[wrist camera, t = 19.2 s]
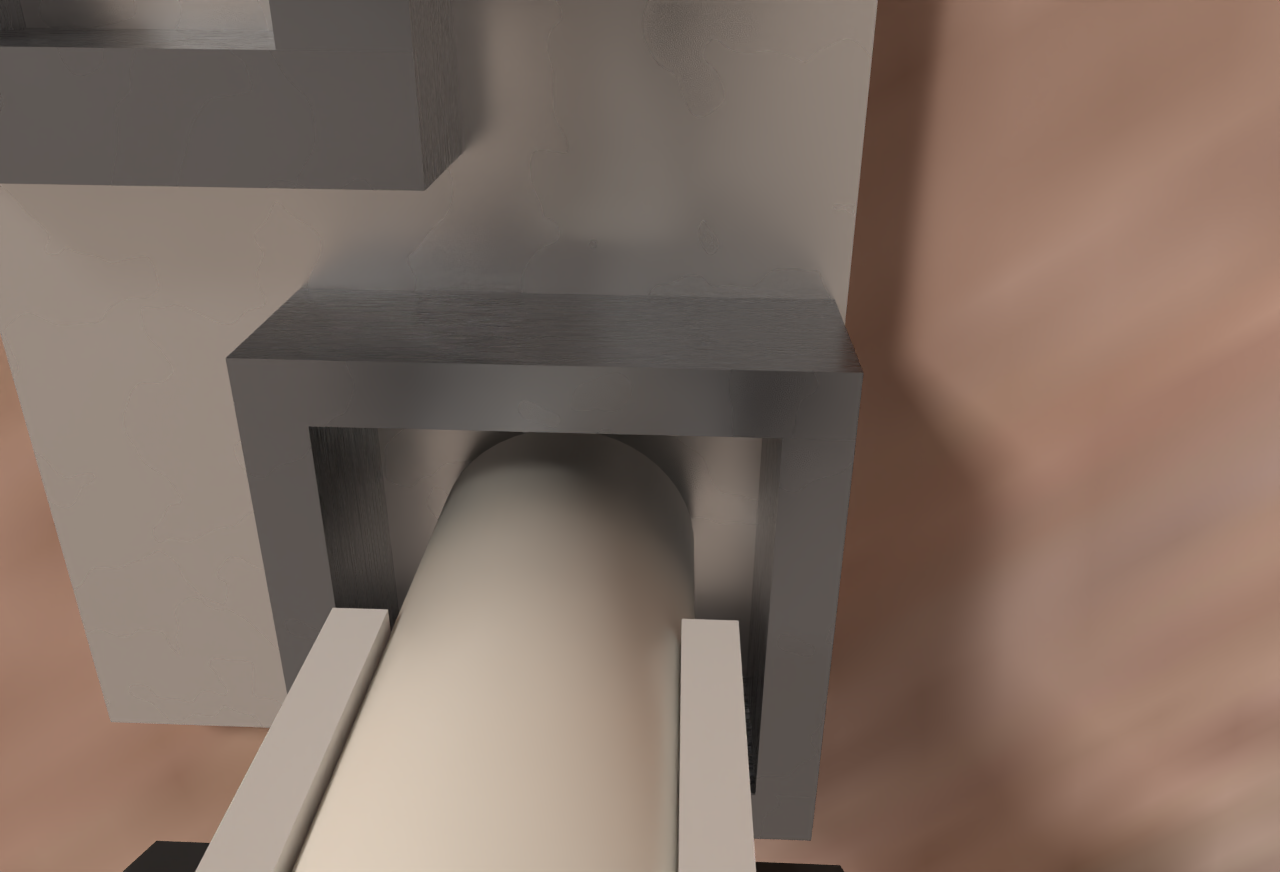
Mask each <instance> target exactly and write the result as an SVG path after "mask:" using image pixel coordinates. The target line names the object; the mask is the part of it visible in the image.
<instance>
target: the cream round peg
mask: <svg viewBox="0 0 1280 872" xmlns="http://www.w3.org/2000/svg"><path fill="white" fill-rule="evenodd" d="M682 619H695V586H694V533H693V527H692V522H691V517H690V515H689V512H688V509H687V506H686V504H685V502H684V500H683V498H682V496H681V494H680V492H679V490H678V489H677V488H676V486H675V485H674V483H673V482H672V481H671V479H670V478H669V477H668V476H667V475H666V474H665V473H664V472H663V471H662V469H661V468H660V467H659V466H658V465H656V464H655V463H654V462H653V461H651V460H650V459H649V458H648V457H647V456H645V455H644V454H642V453H640V452H639V451H637V450H636V449H634V448H632V447H631V446H629V445H627V444H624V443H622V442H620V441H618V440H616V439H613V438H610V437H607V436H604V435H601V434H589V433H550V432H528V433H525V434H521V435H518V436H514V437H512V438H509V439H507V440H505V441H502V442H500V443H498V444H496V445H495V446H493V447H491V448H490V449H488V450H486V451H485V452H483V453H482V454H481V455H480V456H478V457H477V458H476V459H475V460H473V461H472V462H471V463H470V464H469V465H468V466H467V468H466V469H465V470H464V471H463V472H462V473H461V475H460V476H459V477H458V479H457V480H456V482H455V483H454V485H453V487H452V489H451V491H450V493H449V495H448V497H447V500H446V502H445V504H444V507H443V509H442V512H441V514H440V516H439V519H438V521H437V524H436V526H435V528H434V531H433V533H432V535H431V538H430V540H429V543H428V545H427V547H426V550H425V552H424V555H423V557H422V559H421V562H420V564H419V567H418V569H417V571H416V574H415V576H414V579H413V581H412V583H411V586H410V588H409V590H408V593H407V595H406V598H405V600H404V602H403V605H402V607H401V610H400V612H399V614H398V617H397V619H396V622H395V624H394V626H393V629H392V631H391V635H390V637H389V640H388V642H387V644H386V647H385V649H384V652H383V654H382V656H381V659H380V661H379V664H378V666H377V668H376V671H375V673H374V676H373V678H372V680H371V683H370V685H369V688H368V690H367V692H366V695H365V697H364V700H363V702H362V704H361V707H360V709H359V712H358V714H357V716H356V719H355V721H354V723H353V726H352V728H351V731H350V733H349V735H348V738H347V740H346V743H345V745H344V747H343V750H342V752H341V755H340V757H339V759H338V762H337V764H336V767H335V769H334V771H333V774H332V776H331V779H330V781H329V783H328V786H327V788H326V790H325V793H324V795H323V798H322V800H321V802H320V805H319V807H318V810H317V812H316V814H315V817H314V819H313V822H312V824H311V826H310V829H309V831H308V834H307V836H306V838H305V841H304V843H303V846H302V848H301V850H300V853H299V855H298V858H297V860H296V862H295V865H294V867H293V869H292V872H678V854H679V771H680V688H681V629H682Z"/></svg>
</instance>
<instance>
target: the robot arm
mask: <svg viewBox="0 0 1280 872" xmlns="http://www.w3.org/2000/svg"><path fill="white" fill-rule="evenodd" d="M390 635H391V630H390V622H389V614H388V609H356V608H332V610H331V612H330V614H329V616H328V618H327V619H326V621H325V623H324V625H323V627H322V629H321V631H320V633H319V635H318V637H317V639H316V641H315V643H314V644H313V646H312V648H311V650H310V652H309V654H308V656H307V658H306V660H305V662H304V664H303V666H302V667H301V669H300V671H299V673H298V675H297V677H296V679H295V681H294V683H293V685H292V687H291V689H290V691H289V692H288V694H287V696H286V698H285V700H284V702H283V704H282V706H281V708H280V710H279V712H278V714H277V715H276V717H275V719H274V721H273V723H272V725H271V727H270V729H269V731H268V733H267V735H266V737H265V739H264V740H263V742H262V744H261V746H260V748H259V750H258V752H257V754H256V756H255V758H254V760H253V762H252V764H251V765H250V767H249V769H248V771H247V773H246V775H245V777H244V779H243V781H242V783H241V785H240V787H239V788H238V790H237V792H236V794H235V796H234V798H233V800H232V802H231V804H230V806H229V808H228V810H227V812H226V813H225V815H224V817H223V819H222V821H221V823H220V825H219V827H218V829H217V831H216V833H215V835H214V837H213V838H212V840H211V842H210V843H196V842H171V841H156V842H155V843H154V844H153V845H151V846H150V847H149V848H148V849H147V850H146V851H145V852H144V853H143V854H142V855H141V856H139V857H138V858H137V859H136V860H135V861H134V862H133V863H132V864H131V865H130V866H128V867H127V868H126V869H125V870H124V871H123V872H292V869H293V867H294V865H295V862H296V860H297V858H298V855H299V853H300V850H301V848H302V846H303V843H304V841H305V838H306V836H307V834H308V831H309V829H310V826H311V824H312V822H313V819H314V817H315V814H316V812H317V810H318V807H319V805H320V802H321V800H322V798H323V795H324V793H325V790H326V788H327V786H328V783H329V781H330V779H331V776H332V774H333V771H334V769H335V767H336V764H337V762H338V759H339V757H340V755H341V752H342V750H343V747H344V745H345V743H346V740H347V738H348V735H349V733H350V731H351V728H352V726H353V723H354V721H355V719H356V716H357V714H358V712H359V709H360V707H361V704H362V702H363V700H364V697H365V695H366V692H367V690H368V688H369V685H370V683H371V680H372V678H373V676H374V673H375V671H376V668H377V666H378V664H379V661H380V659H381V656H382V654H383V652H384V649H385V647H386V644H387V642H388V640H389V637H390ZM678 872H844V871H843V869H842V868H841V866H840V865H818V864H793V863H768V862H755V849H754V834H753V820H752V806H751V791H750V777H749V763H748V749H747V734H746V720H745V706H744V691H743V677H742V663H741V649H740V634H739V621H737V620H706V619H682V629H681V688H680V771H679V854H678Z"/></svg>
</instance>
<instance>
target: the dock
mask: <svg viewBox="0 0 1280 872" xmlns="http://www.w3.org/2000/svg"><path fill="white" fill-rule="evenodd" d="M877 3H878V0H0V334H1V337H2V341H3V344H4V348H5V351H6V355H7V358H8V362H9V365H10V369H11V373H12V376H13V380H14V383H15V387H16V390H17V394H18V397H19V401H20V404H21V408H22V411H23V415H24V418H25V422H26V425H27V429H28V432H29V436H30V439H31V443H32V446H33V450H34V453H35V457H36V460H37V464H38V467H39V471H40V474H41V478H42V482H43V485H44V489H45V492H46V496H47V499H48V503H49V506H50V510H51V513H52V517H53V520H54V524H55V527H56V531H57V534H58V538H59V541H60V545H61V548H62V552H63V555H64V559H65V562H66V566H67V569H68V573H69V576H70V580H71V583H72V587H73V590H74V594H75V598H76V601H77V605H78V608H79V612H80V615H81V619H82V622H83V626H84V629H85V633H86V636H87V640H88V643H89V647H90V650H91V654H92V657H93V661H94V664H95V668H96V671H97V675H98V678H99V682H100V685H101V689H102V692H103V696H104V699H105V703H106V707H107V710H108V714H109V717H110V721H111V722H126V723H154V724H182V725H210V726H238V727H266V728H270V727H271V725H272V723H273V721H274V719H275V717H276V715H277V714H278V712H279V710H280V708H281V706H282V704H283V702H284V700H285V698H286V696H287V694H288V692H289V691H290V689H291V687H292V685H293V683H294V681H295V679H296V677H297V675H298V673H299V671H300V669H301V667H302V666H303V664H304V662H305V660H306V658H307V656H308V654H309V652H310V650H311V648H312V646H313V644H314V643H315V641H316V639H317V637H318V635H319V633H320V631H321V629H322V627H323V625H324V623H325V621H326V619H327V618H328V616H329V614H330V612H331V610H332V608H356V609H388V614H389V622H390V630H391V631H392V629H393V626H394V624H395V622H396V619H397V617H398V614H399V612H400V610H401V607H402V605H403V602H404V600H405V598H406V595H407V593H408V590H409V588H410V586H411V583H412V581H413V579H414V576H415V574H416V571H417V569H418V567H419V564H420V562H421V559H422V557H423V555H424V552H425V550H426V547H427V545H428V543H429V540H430V538H431V535H432V533H433V531H434V528H435V526H436V524H437V521H438V519H439V516H440V514H441V512H442V509H443V507H444V504H445V502H446V500H447V497H448V495H449V493H450V491H451V489H452V487H453V485H454V483H455V482H456V480H457V479H458V477H459V476H460V475H461V473H462V472H463V471H464V470H465V469H466V468H467V466H468V465H469V464H470V463H471V462H472V461H473V460H475V459H476V458H477V457H478V456H480V455H481V454H482V453H483V452H485V451H486V450H488V449H490V448H491V447H493V446H495V445H496V444H498V443H500V442H502V441H505V440H507V439H509V438H512V437H514V436H518V435H521V434H525V433H528V432H550V433H589V434H601V435H604V436H607V437H610V438H613V439H616V440H618V441H620V442H622V443H624V444H627V445H629V446H631V447H632V448H634V449H636V450H637V451H639V452H640V453H642V454H644V455H645V456H647V457H648V458H649V459H650V460H651V461H653V462H654V463H655V464H656V465H658V466H659V467H660V468H661V469H662V471H663V472H664V473H665V474H666V475H667V476H668V477H669V478H670V479H671V481H672V482H673V483H674V485H675V486H676V488H677V489H678V490H679V492H680V494H681V496H682V498H683V500H684V502H685V504H686V506H687V509H688V512H689V515H690V517H691V522H692V527H693V533H694V586H695V619H706V620H737V621H739V634H740V649H741V663H742V677H743V691H744V706H745V720H746V734H747V749H748V763H749V777H750V791H751V806H752V820H753V834H754V838H757V839H782V840H808V841H811V837H812V828H813V819H814V810H815V801H816V792H817V783H818V774H819V765H820V756H821V747H822V738H823V729H824V720H825V712H826V703H827V694H828V685H829V676H830V667H831V658H832V649H833V640H834V631H835V622H836V613H837V604H838V595H839V586H840V578H841V569H842V560H843V551H844V542H845V533H846V524H847V515H848V506H849V497H850V488H851V479H852V470H853V461H854V452H855V444H856V435H857V426H858V417H859V408H860V399H861V390H862V381H863V371H862V368H861V365H860V363H859V360H858V358H857V355H856V353H855V350H854V347H853V345H852V342H851V340H850V337H849V335H848V332H847V330H846V327H845V319H846V310H847V300H848V290H849V280H850V270H851V260H852V250H853V240H854V230H855V221H856V211H857V201H858V191H859V181H860V171H861V161H862V151H863V141H864V131H865V122H866V112H867V102H868V92H869V82H870V72H871V62H872V52H873V42H874V33H875V23H876V13H877Z"/></svg>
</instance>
